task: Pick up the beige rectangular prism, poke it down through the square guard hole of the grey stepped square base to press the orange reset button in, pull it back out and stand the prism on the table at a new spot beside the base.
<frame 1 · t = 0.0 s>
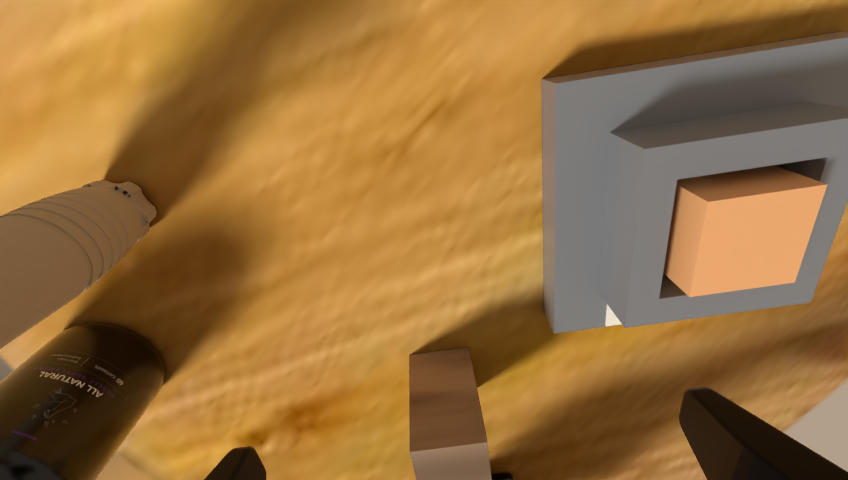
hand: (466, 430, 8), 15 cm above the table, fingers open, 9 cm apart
grey stepped square base: (669, 193, 22), on the table
reset button: (729, 230, 18), point 5 cm above the table, slide at 0.0 cm
beige rectangular prism: (442, 372, 28), on the table
supplement bottle: (114, 358, 26), on the table
handle: (129, 203, 21), on the table
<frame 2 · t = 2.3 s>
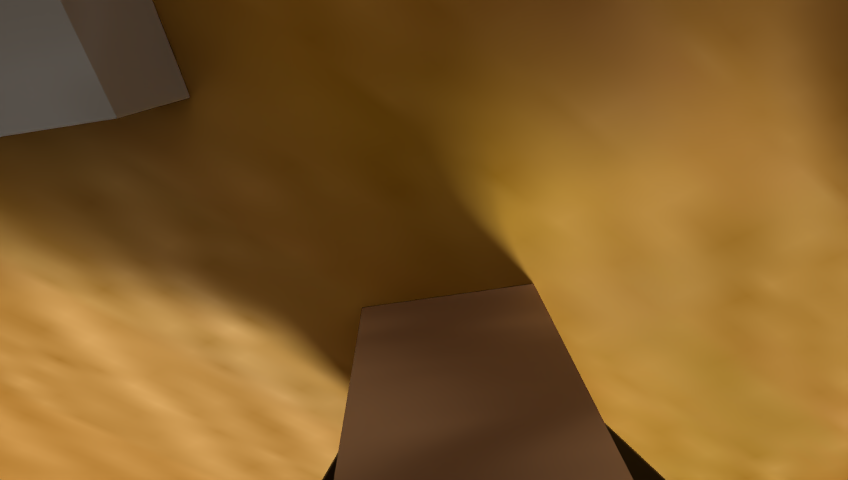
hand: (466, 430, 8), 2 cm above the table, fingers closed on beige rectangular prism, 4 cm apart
beige rectangular prism: (456, 359, 10), on the table, touching gripper
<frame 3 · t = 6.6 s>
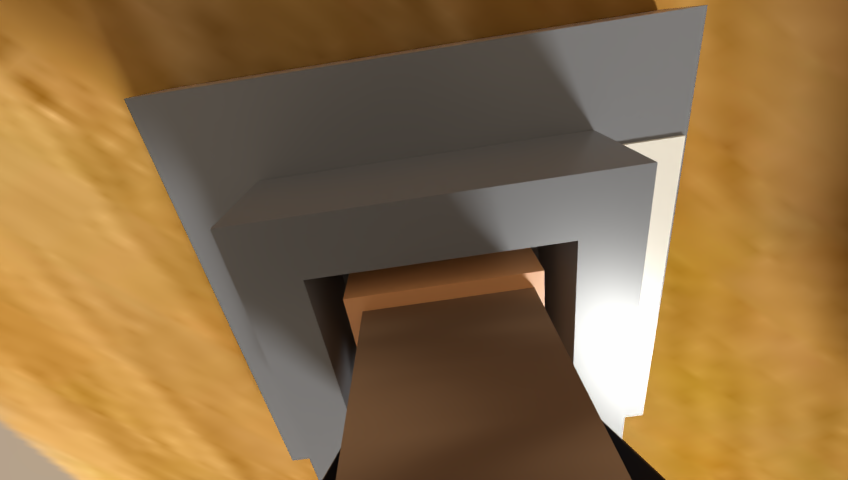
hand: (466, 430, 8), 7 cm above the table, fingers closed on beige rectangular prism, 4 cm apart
grey stepped square base: (439, 262, 14), on the table
reset button: (448, 324, 11), point 4 cm above the table, slide at 1.1 cm, touching beige rectangular prism
beige rectangular prism: (456, 363, 10), point 5 cm above the table, touching gripper, reset button
when the fingers open (3 cm above the table, at t = 11.0 s): beige rectangular prism drops 2 cm, on the table.
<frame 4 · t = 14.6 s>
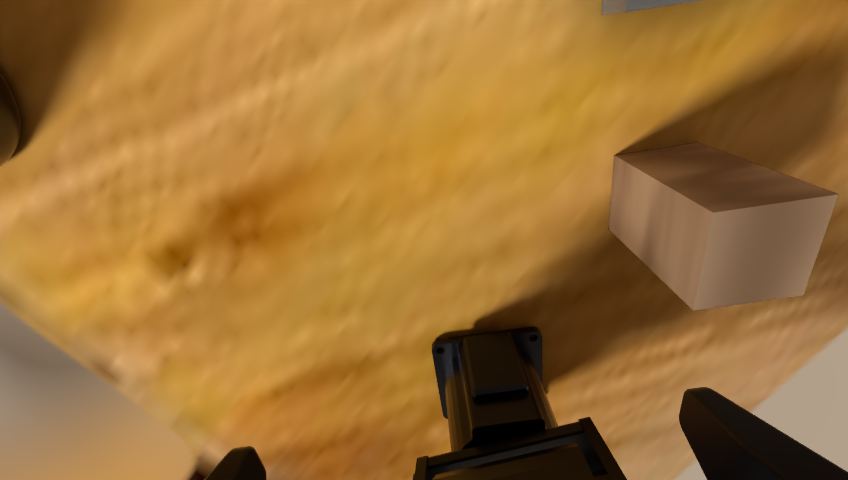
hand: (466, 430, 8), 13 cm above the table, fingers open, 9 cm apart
beige rectangular prism: (651, 187, 20), on the table
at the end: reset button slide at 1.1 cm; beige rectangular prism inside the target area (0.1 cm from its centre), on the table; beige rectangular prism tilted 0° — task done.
